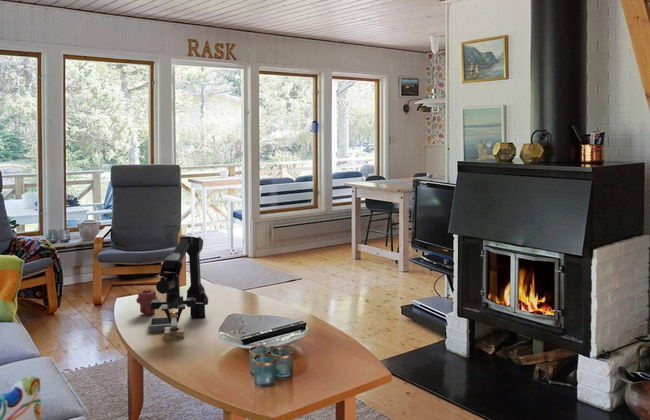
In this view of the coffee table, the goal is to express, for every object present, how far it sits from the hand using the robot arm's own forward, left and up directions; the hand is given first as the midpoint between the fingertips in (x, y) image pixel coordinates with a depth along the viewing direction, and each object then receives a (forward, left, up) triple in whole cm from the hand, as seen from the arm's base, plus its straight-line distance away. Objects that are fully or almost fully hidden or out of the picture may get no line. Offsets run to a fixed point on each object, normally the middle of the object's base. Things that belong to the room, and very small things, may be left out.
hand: (174, 322), depth 258 cm
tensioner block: (0, 0, -6) cm, 6 cm away
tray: (+5, -13, -6) cm, 15 cm away
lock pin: (0, 0, -4) cm, 4 cm away
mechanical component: (+13, -35, -6) cm, 38 cm away
